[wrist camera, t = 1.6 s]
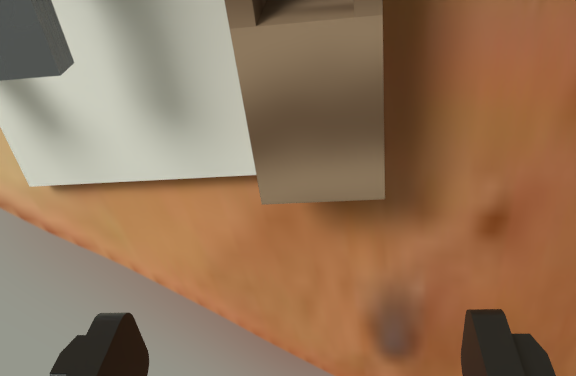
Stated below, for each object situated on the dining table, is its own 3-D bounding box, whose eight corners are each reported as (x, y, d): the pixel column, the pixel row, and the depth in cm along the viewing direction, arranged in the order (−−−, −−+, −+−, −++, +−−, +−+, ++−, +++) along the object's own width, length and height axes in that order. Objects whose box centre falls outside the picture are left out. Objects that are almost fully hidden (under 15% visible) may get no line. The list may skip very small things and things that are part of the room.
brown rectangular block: (225, -131, 20) (202, -121, 16) (374, -151, 19) (380, -145, 16) (271, 158, 27) (261, 204, 24) (379, 152, 26) (385, 199, 23)
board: (377, -185, 19) (379, -185, 18) (382, 156, 28) (383, 168, 27) (-99, -117, 22) (-119, -114, 21) (39, 174, 31) (29, 186, 30)
